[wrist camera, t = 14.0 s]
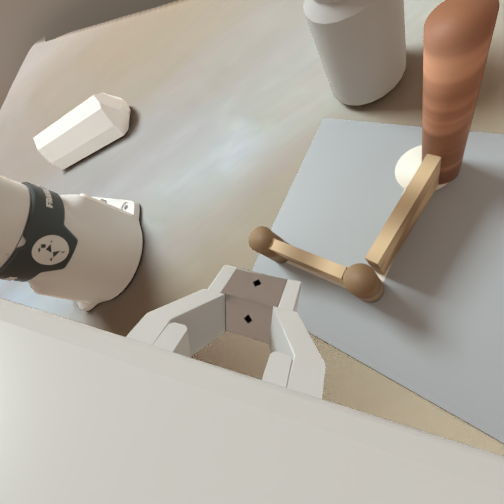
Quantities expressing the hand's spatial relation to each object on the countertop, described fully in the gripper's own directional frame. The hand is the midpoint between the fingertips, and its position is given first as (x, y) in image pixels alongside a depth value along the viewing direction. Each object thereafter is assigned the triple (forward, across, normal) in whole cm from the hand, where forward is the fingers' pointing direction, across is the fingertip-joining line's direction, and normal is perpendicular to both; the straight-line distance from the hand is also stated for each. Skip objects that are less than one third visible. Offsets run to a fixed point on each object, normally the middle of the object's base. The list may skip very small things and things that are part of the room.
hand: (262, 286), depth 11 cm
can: (+30, -3, -6) cm, 31 cm away
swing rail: (+18, -9, +3) cm, 20 cm away
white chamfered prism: (+42, +47, +8) cm, 63 cm away
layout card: (+16, -9, +5) cm, 19 cm away
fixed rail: (+15, -2, +9) cm, 18 cm away
